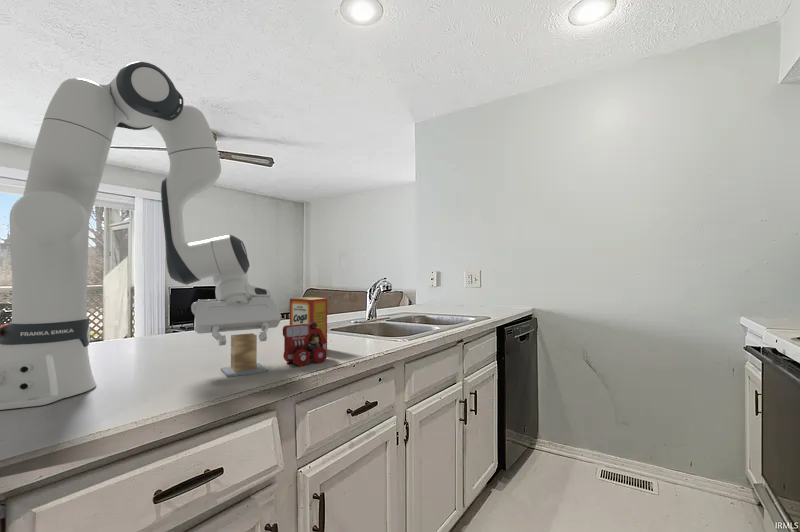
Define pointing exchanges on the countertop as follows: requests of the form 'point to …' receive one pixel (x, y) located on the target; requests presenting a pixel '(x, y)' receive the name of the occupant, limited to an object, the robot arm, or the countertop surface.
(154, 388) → the countertop surface
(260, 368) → the mat
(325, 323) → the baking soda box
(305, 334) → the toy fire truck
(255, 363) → the block
